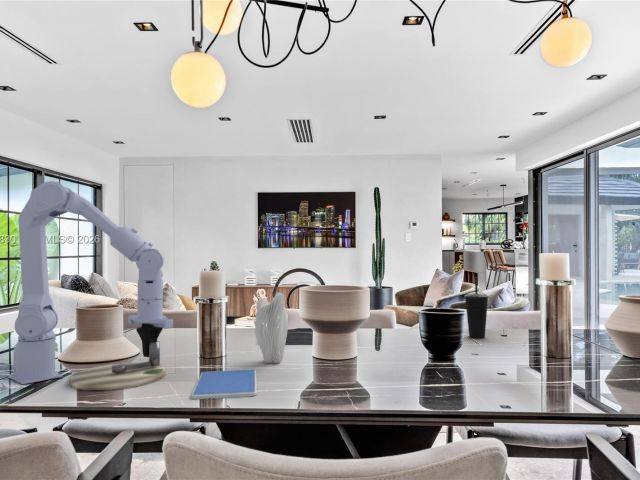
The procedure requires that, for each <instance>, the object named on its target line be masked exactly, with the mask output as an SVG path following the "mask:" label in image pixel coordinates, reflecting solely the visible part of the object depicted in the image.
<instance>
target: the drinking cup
mask: <svg viewBox="0 0 640 480" xmlns="http://www.w3.org/2000/svg"><path fill="white" fill-rule="evenodd" d="M474 289H475V290H474V291H472V292H468V293H467V294H464V299H465V309H466V318H467V327H468V335H469V338H471V339H479V340H480V339H485V338H486V330H487V329H486V328H487V316H488V315H487V314H488V304H489V303H488V301H489V298H490V296H489V295H487V294H485V293H483V292H481V291H478V276H477V275H475V276H474Z"/></svg>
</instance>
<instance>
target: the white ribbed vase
mask: <svg viewBox="0 0 640 480" xmlns="http://www.w3.org/2000/svg"><path fill="white" fill-rule="evenodd" d="M254 327H255V328H254V334H255V338H256V339H257V343H258V345H259V349H260V350H261V351H260V352H261V354H262V359H263V362H264V363H266V364H279V363H282V362H283V359H284V356H285V349H286V348H285V347H286V341H287V335H288V329H289V315H288V312H287V308H286V307H285V295H284V293H282V292H276V293H275V295H274V297H273V298H272V301H270V302H269V301H268V300H267V299H266V298H263V297H258V300H257V301H256V312H255V320H254Z"/></svg>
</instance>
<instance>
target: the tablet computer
mask: <svg viewBox="0 0 640 480" xmlns="http://www.w3.org/2000/svg"><path fill="white" fill-rule="evenodd" d="M257 377H258V376H257V370H256V369H239V370H238V369H237V370H235V369H233V370H213V371H211V370H210V371H202V372H201V373H200V375H199V377H198V380H197V381H196V385H195V386H194V389H193V391H192V393H191V396H190V398H191V399H192V400H211V399H213V398H214V399H229V398H231V399H232V398H247V397H248V398H249V397H255V396H257V393H258V391H257V387H258V386H257ZM209 398H211V399H209ZM214 399H213V400H214Z"/></svg>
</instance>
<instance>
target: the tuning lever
mask: <svg viewBox="0 0 640 480" xmlns="http://www.w3.org/2000/svg"><path fill="white" fill-rule="evenodd" d="M160 346H161V341H160V340H157V341H151V342H149V357H148V361H143V362H141V361H140V362H134V363H135V364H128V365H126V364H122V363H115V364H116V365H113V366H112V372H113V373H119V372H124V371H126V370H132V369H138V368H145V367H154V366H159V365H161V364H160V363H161V360H160V359H161V351H160V349H161V347H160Z"/></svg>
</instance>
